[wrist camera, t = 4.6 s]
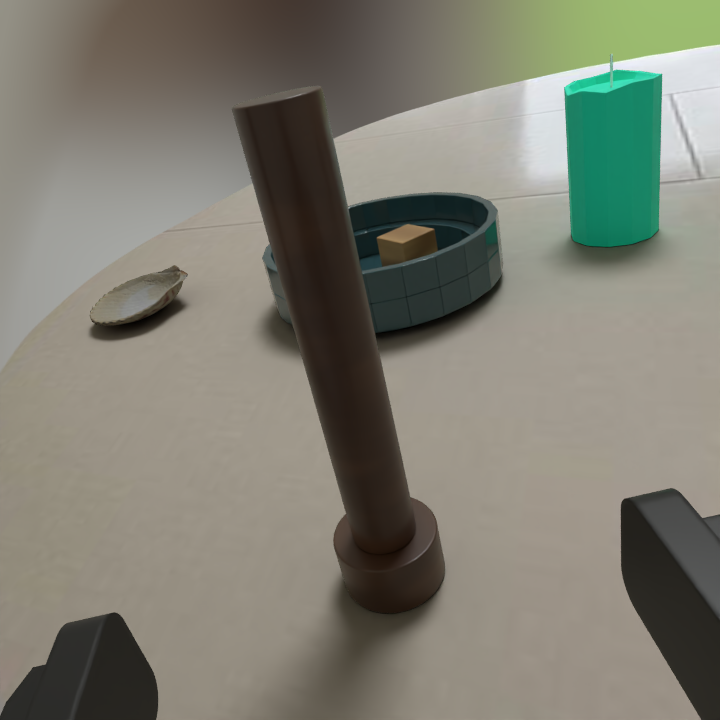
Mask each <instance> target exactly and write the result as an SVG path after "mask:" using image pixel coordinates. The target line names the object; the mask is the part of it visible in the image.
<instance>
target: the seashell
mask: <svg viewBox="0 0 720 720" xmlns="http://www.w3.org/2000/svg"><path fill="white" fill-rule="evenodd" d="M187 275H188V274H187V273H186V272H184V271H182V270H181V271H180V270H179V268H178V267H177V266H175V265H174V266H172V267H170V268H168V269H166V270H164V271H162V272H157V273H151V274H148V275H144V276H141V277H138V278H136V279H133V280H130V281H127V282H126V283H124V284H121V285H120V286H118V287H116V288H114V289H113V290H112V291H110V292H108V294H106V295H104V296H103V298H101V299H100V300H99V302H97V303H96V304H95V306H94V307H93V308H92V310H91V311H90V318H91V320H92V322H93V323H95V324H96V325H103V326H107V325H118V324H126V323H130V322H135V321H139V320H141V319H143V318H145V317H148V316H150V315H152V314H154V313H156V312H158V311H159V310H161V309H162V308H164V307H165V306H167V305H168V304H169V303H170V302H171V301H172V300H173V299H174V298H175V297H176V295H177V294H178V292H179V290H180V289H181V287H182V283H183V280H184V279H185V278H186V277H187Z"/></svg>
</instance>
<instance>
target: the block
mask: <svg viewBox="0 0 720 720" xmlns="http://www.w3.org/2000/svg"><path fill="white" fill-rule="evenodd" d="M377 243H378V248H379V253H380V258H381V263H382V267H385V266H390V265H395V264H400V263H403V262H406V261H410V260H413V259H416V258H420V257H423V256H427V255H430V254H432V253H435V252H437V251H438V249H437V242H436V236H435V230H434V229H432V228H427V227H421V226H416V225H411V224H407V225H404V226H402V227H400V228H397V229H395V230H393V231H390V232H388V233H386V234H383V235H381V236H379V237H377Z"/></svg>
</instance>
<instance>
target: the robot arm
mask: <svg viewBox="0 0 720 720" xmlns="http://www.w3.org/2000/svg"><path fill="white" fill-rule="evenodd" d="M621 569H622V575H623V580H624V584H625V587H626V590H627V593H628V595H629V598H630V600H631V602H632V604H633V606H634V608H635V610H636V611H637V613H638V615H639V616H640V618H641V620H642V621H643V623H644V625H645V626H646V628H647V630H648V631H649V633H650V635H651V636H652V638H653V640H654V641H655V643H656V645H657V646H658V648H659V650H660V651H661V653H662V655H663V656H664V658H665V660H666V661H667V663H668V665H669V666H670V668H671V670H672V671H673V673H674V675H675V676H676V678H677V680H678V681H679V683H680V685H681V686H682V688H683V690H684V691H685V693H686V695H687V696H688V698H689V700H690V701H691V703H692V705H693V706H694V708H695V710H696V711H697V713H698V715H699V716H700V718H701V720H720V515H715V516H711V517H706V518H702V517H701V516H700V515H699V514H698V513H697V511H696V510H695V509H694V508H693V507H692V506H691V504H690V503H689V502H688V501H687V500H686V499H685V497H684V496H683V495H682V494H681V493H680V492H679V491H677V490H675V489H673V488H670V489H666V490H661V491H657V492H652V493H648V494H644V495H639V496H635V497H630V498H626V499H624V500H623V501H622V503H621ZM157 711H158V690H157V683H156V679H155V676H154V673H153V671H152V669H151V667H150V665H149V663H148V662H147V660H146V658H145V656H144V655H143V653H142V651H141V649H140V648H139V646H138V644H137V642H136V641H135V639H134V637H133V635H132V633H131V632H130V630H129V628H128V626H127V625H126V623H125V621H124V620H123V618H122V617H121V616H120V615H119V614H118V613H110V614H105V615H101V616H96V617H92V618H88V619H83V620H79V621H74V622H70V623H67V624H65V625H64V626H63V627H62V628H61V629H60V631H59V633H58V635H57V637H56V640H55V642H54V645H53V647H52V650H51V652H50V655H49V658H48V660H47V663H46V665H42V666H37V667H33V668H32V670H31V671H30V672H29V673H28V675H27V676H26V677H25V679H24V680H23V681H22V683H21V684H20V685H19V686H18V688H17V689H16V690H15V692H14V693H13V694H12V696H11V697H10V698H9V699H8V701H7V702H6V704H5V706H4V708H3V711H2V713H1V716H0V720H156V717H157Z"/></svg>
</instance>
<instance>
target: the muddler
mask: <svg viewBox="0 0 720 720" xmlns="http://www.w3.org/2000/svg"><path fill="white" fill-rule="evenodd" d="M232 111H233V115H234V119H235V122H236V126H237V129H238V133H239V136H240V140H241V144H242V147H243V151H244V154H245V158H246V161H247V164H248V168H249V172H250V175H251V179H252V182H253V186H254V189H255V193H256V197H257V200H258V204H259V207H260V211H261V214H262V218H263V221H264V225H265V228H266V232H267V235H268V239H269V243H270V246H271V250H272V253H273V257H274V260H275V264H276V267H277V271H278V274H279V278H280V281H281V285H282V288H283V292H284V296H285V299H286V303H287V306H288V310H289V313H290V317H291V320H292V324H293V327H294V331H295V334H296V338H297V341H298V345H299V349H300V352H301V356H302V359H303V363H304V366H305V370H306V373H307V377H308V380H309V384H310V387H311V391H312V395H313V398H314V402H315V405H316V409H317V412H318V416H319V419H320V423H321V426H322V430H323V433H324V437H325V440H326V444H327V448H328V451H329V455H330V458H331V462H332V465H333V469H334V472H335V476H336V479H337V483H338V486H339V490H340V494H341V497H342V501H343V504H344V508H345V511H346V514H345V515H344V517H343V518H342V519H341V520H340V522H339V523H338V525H337V527H336V530H335V533H334V540H333V541H334V548H335V552H336V555H337V558H338V562H339V565H340V568H341V572H342V575H343V578H344V581H345V585H346V588H347V590H348V593H349V594H350V596H351V597H352V598H353V599H354V600H355V601H356V602H357V603H358V604H359V605H361V606H363V607H364V608H366V609H369V610H371V611H375V612H380V613H398V612H403V611H407V610H410V609H412V608H415V607H417V606H419V605H421V604H422V603H424V602H425V601H427V600H428V599H429V598H430V597H431V596H432V595H433V594H434V593H435V592H436V591H437V589H438V588H439V586H440V584H441V582H442V580H443V577H444V572H445V563H444V557H443V552H442V547H441V542H440V537H439V531H438V526H437V522H436V518H435V516H434V514H433V513H432V511H431V510H430V509H429V508H428V507H427V506H426V505H425V504H423V503H422V502H420V501H418V500H416V499H414V498H411V497H410V494H409V489H408V484H407V480H406V475H405V470H404V466H403V461H402V456H401V452H400V447H399V443H398V438H397V433H396V429H395V424H394V419H393V415H392V410H391V405H390V401H389V396H388V391H387V387H386V382H385V377H384V373H383V368H382V363H381V359H380V354H379V349H378V345H377V340H376V336H375V331H374V326H373V322H372V317H371V312H370V308H369V303H368V298H367V294H366V289H365V284H364V280H363V275H362V270H361V266H360V261H359V256H358V252H357V247H356V242H355V238H354V233H353V229H352V224H351V219H350V215H349V210H348V205H347V201H346V196H345V191H344V187H343V182H342V177H341V173H340V168H339V163H338V159H337V154H336V149H335V145H334V140H333V135H332V131H331V126H330V122H329V117H328V112H327V108H326V103H325V98H324V94H323V89H322V87H321V86H310V87H304V88H298V89H293V90H288V91H283V92H279V93H275V94H270V95H266V96H263V97H259V98H255V99H252V100H249V101H245V102H242V103H239V104H237V105H235V106H233V107H232Z"/></svg>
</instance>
